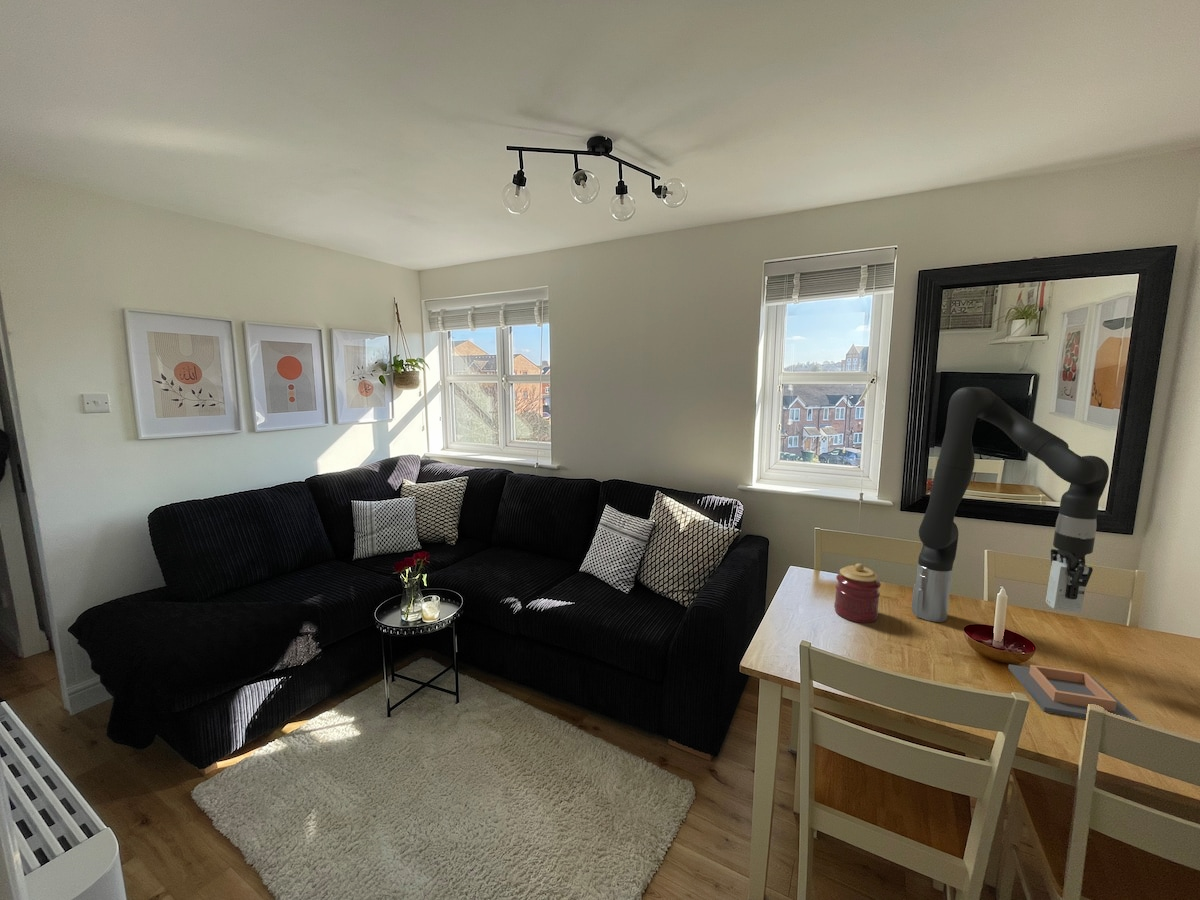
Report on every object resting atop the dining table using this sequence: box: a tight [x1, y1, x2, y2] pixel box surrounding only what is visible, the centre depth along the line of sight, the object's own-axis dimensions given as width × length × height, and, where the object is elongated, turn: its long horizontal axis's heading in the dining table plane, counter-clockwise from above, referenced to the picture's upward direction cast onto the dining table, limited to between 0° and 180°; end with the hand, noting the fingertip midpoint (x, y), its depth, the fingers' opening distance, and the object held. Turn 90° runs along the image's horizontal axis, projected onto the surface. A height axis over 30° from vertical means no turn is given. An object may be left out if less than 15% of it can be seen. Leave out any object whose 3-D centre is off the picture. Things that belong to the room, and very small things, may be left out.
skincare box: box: [1045, 561, 1086, 613], centre depth 129 cm, size 6×4×12 cm
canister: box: [833, 562, 881, 624], centre depth 162 cm, size 13×13×18 cm
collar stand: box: [1007, 663, 1142, 722], centre depth 121 cm, size 18×18×4 cm
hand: (1065, 594), depth 130 cm, fingers closed on skincare box, 4 cm apart
